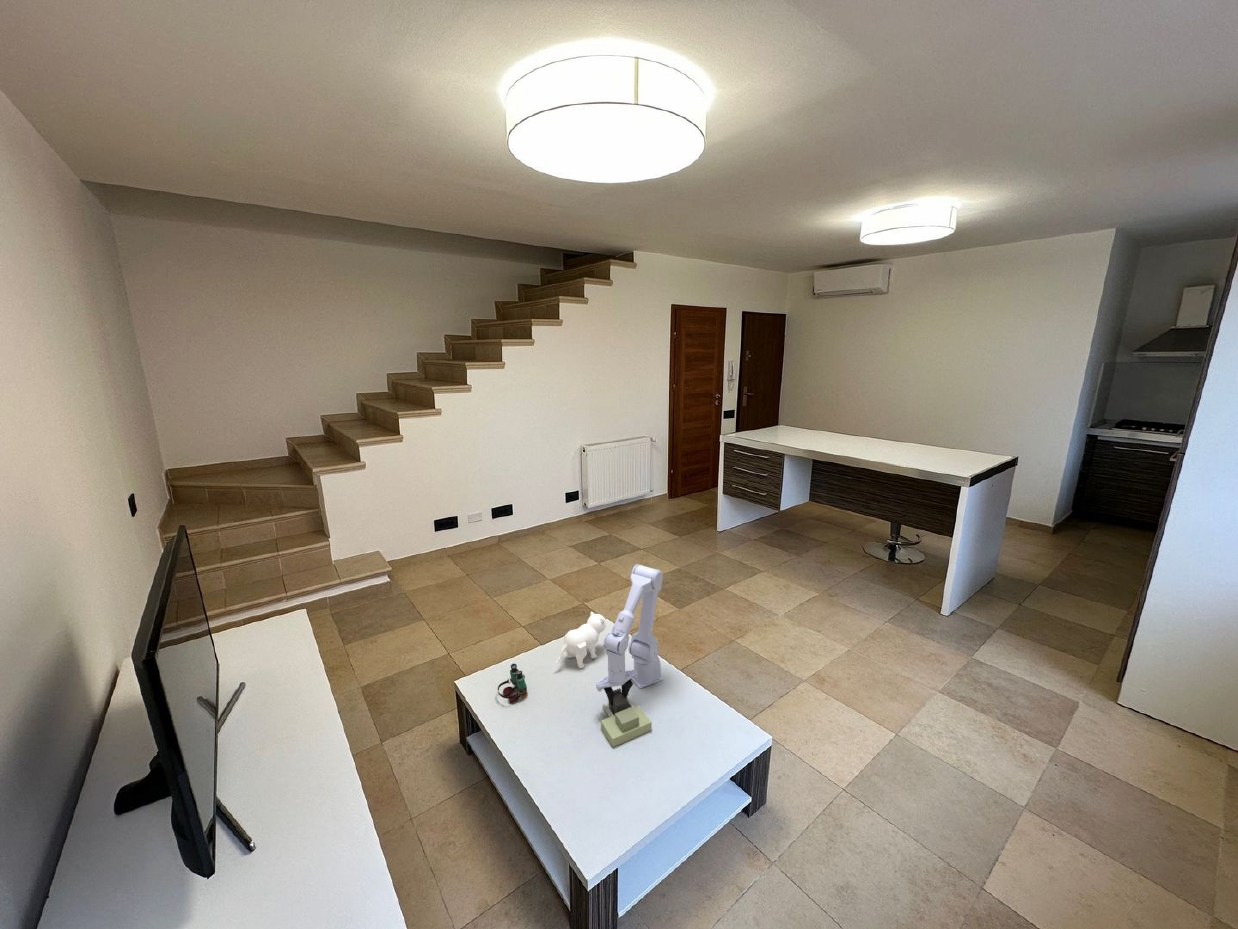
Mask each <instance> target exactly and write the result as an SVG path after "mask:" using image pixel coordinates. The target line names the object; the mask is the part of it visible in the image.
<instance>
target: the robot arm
mask: <svg viewBox="0 0 1238 929" xmlns="http://www.w3.org/2000/svg"><path fill="white" fill-rule="evenodd" d="M663 579H664V574H663V573H662V570H660V569H656V568H652V567H649V566H645V565H642V564H639V563H637V564H635V565H634V566H633V568H632V569H631V574H630V583H631V586H630V590H629V593H628V596H627V599H626V602H625V605H624V608H623V610H622V611H619V613H618V615H617V616H616V617H617V618H616V619H615V621H614V624H613V626H612V629H611V630H610V632H608V633H607V634H606V636H605V638H604V640H603V642H604V643H603V649H605V653H606V655H607V667H608V668H607V672H608V673H607V676H605V678H603V679H602V680H600V681H599V682H596V683H595V684H596V690H597V692H599V693H600V692H602V690H603V691H604V692H605V695H606V697H607V700H608V701H609V702H608V704H609V703H610V705H611V706H612V705H613V695H614V689H613V687H620V686H621V688H620V689H621V693H622V694H623V695H624V697H625V698H626V699H627V697H628V695H629V692H630V690H631V688H632V687H633V686H634V684H636V686H637V687H638V688H639V689H643V688H646V687H648V686H651V685H653V684H655V683H658V682H661V681H662V680H663V679H662V675H661V669H662V668H661V660H660V657H659V640H658V639H657V637H656V636H655V635H654V633H653V629H654V622H655V615H656V609H657V600H658V594H659V592H660V591H662V587H663V586H662V585H663ZM641 601H642V603H641V611H640V618H639V624H638V631H636V632H635V633H633V634H632V635H631V639H630V633H631V629H632V628H633V625H634V623H635V615H634V614H635V612H636V610H637V608H638V606H639V604H640V602H641ZM629 639H630V640H629ZM629 641H630V642H629ZM627 649H628V653H629V655H630V656H631V658H632V660H633V669H631V670H626V652H627ZM633 682H634V684H633Z"/></svg>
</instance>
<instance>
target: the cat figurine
mask: <svg viewBox="0 0 1238 929" xmlns="http://www.w3.org/2000/svg"><path fill="white" fill-rule="evenodd" d="M607 625H608V626H610V623H608V622H607V620H606V618H605V617H604V616H603V615H602V614H599V613H594V612H593V611H590V613H589V617H588V618H587V622H586V623H583V624H581V626H579V627H578V628H575V629H571V630H569V631H568V632H567V633H566V634H565V635H564V639H563V640H564V641H563V647H562V648H561V650H560V652H559V657H558V658H557V660H556V661H555V664H558V663H560V662H561V660H562V659H563V655H564V653H566V657H568V658H569V659H571V658H576V663H577V667H578V668H579V669H584V668H585V663H583V660H584V659H585V657H586V656H587V654H588V653H590V658H591V659H596V658H597V656H598V655H597V654H596V645H597V644H598V642H599V639H600V634H601V633H602V632H604V631H605V629H606V627H607ZM587 650H588V653H587Z"/></svg>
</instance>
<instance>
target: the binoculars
mask: <svg viewBox="0 0 1238 929" xmlns="http://www.w3.org/2000/svg"><path fill="white" fill-rule="evenodd" d="M509 674H510V678H509V679H507V680H505V681H503V682H501V683H500V684H499V685H498V686H497V693H498V695H499V696H500V697H501V698H503V699H507V700H508V702H509V704H515V703H516V702H518V701H519V698H523V699H524V698H527V697H528V695H529V693H528V686H527V682H526V680H525V679H526V676H525V674H523V670H519V669H518V666H517V664H516V663H512V664H511V665H510V670H509ZM506 684H512V685H513V686H507V687H504V688H503V690H502V693H503V694H502V693H500V692H499V690H500V688H501V686H503V685H506ZM514 691H516V693H514Z"/></svg>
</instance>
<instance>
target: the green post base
mask: <svg viewBox="0 0 1238 929" xmlns="http://www.w3.org/2000/svg"><path fill="white" fill-rule="evenodd" d="M627 701H628V709H625V710H623V711H620V712H618V713H614V712H613V711H611V710H612V709H611V708H610V706H609V705H608V704H607V703H606V702H604V703H602V709H603V710H604V712H605V713H606V714H607V716H608V717H606V718H604V719H601V720H600V729H601V731H602V732H603V734H604V735H605V737H606V738H607V740H608V742H609V743H610V745H611V746H612V748H615V747H617V746H619V745H621V744H624V743H625V742H628V741H631V740H633V739H634V738H637V737H639V736H641V735H643V734H646V733H648V732H650V731H652V729H653V728H652V726H653V724H652V720H650V718H649V717H648V716H647V714H646V713H645V712H644V711H643V710H642V707H640V705H635V704H634V703H633V702H632V701H631V699H630V698H629V697H628V696H627Z"/></svg>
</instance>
